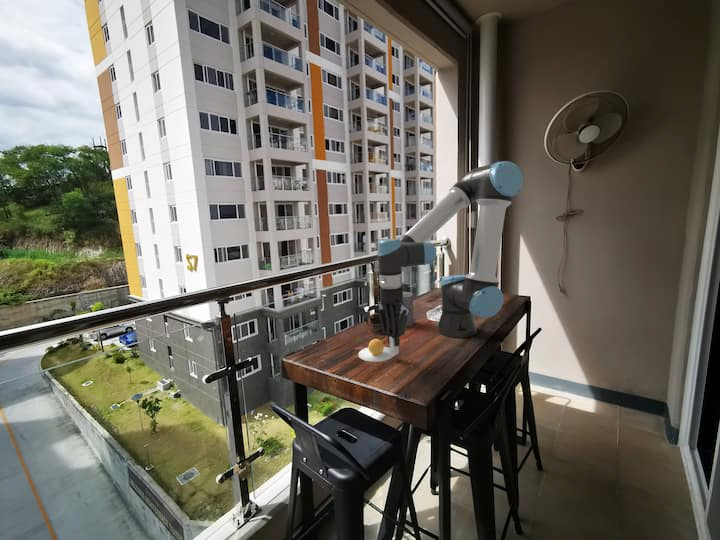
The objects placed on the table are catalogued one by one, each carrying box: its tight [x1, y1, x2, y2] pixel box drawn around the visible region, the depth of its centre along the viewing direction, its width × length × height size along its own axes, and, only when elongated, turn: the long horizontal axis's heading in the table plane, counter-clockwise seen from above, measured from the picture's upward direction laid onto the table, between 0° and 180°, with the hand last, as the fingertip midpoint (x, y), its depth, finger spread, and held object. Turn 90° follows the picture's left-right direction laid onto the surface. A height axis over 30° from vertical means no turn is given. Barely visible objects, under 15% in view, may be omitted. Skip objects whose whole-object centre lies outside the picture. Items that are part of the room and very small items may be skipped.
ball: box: [367, 338, 385, 355], centre depth 116 cm, size 6×6×6 cm
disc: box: [357, 346, 395, 363], centre depth 117 cm, size 13×13×1 cm
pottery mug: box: [363, 312, 382, 334], centre depth 142 cm, size 12×10×8 cm
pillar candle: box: [399, 291, 414, 328], centre depth 146 cm, size 10×10×15 cm
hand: (394, 354), depth 111 cm, fingers closed
